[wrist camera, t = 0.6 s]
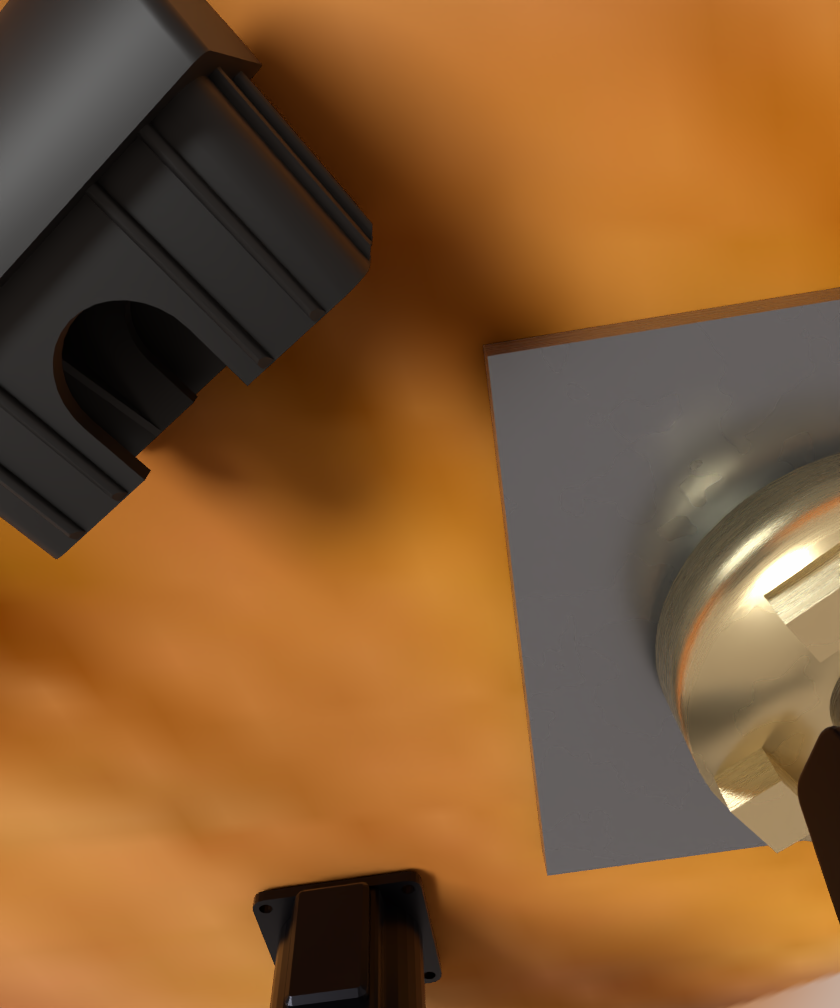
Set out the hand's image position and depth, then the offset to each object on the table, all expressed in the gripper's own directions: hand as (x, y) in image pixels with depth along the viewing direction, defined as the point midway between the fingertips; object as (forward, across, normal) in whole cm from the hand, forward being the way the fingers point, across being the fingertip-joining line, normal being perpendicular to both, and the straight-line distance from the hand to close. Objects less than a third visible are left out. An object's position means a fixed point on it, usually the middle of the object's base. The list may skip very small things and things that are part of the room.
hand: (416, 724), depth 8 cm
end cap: (+14, +7, -2) cm, 16 cm away
